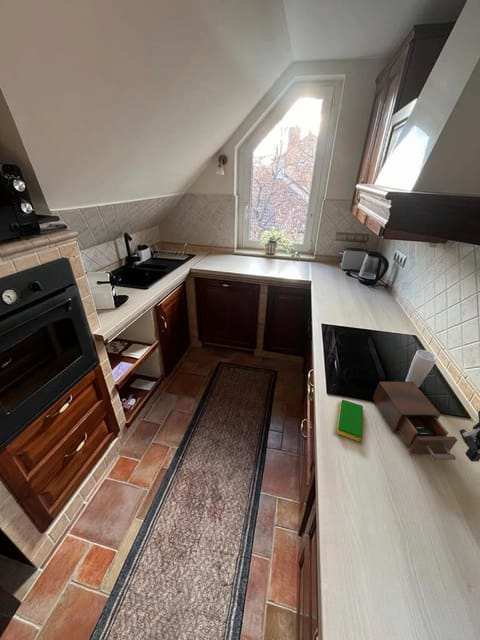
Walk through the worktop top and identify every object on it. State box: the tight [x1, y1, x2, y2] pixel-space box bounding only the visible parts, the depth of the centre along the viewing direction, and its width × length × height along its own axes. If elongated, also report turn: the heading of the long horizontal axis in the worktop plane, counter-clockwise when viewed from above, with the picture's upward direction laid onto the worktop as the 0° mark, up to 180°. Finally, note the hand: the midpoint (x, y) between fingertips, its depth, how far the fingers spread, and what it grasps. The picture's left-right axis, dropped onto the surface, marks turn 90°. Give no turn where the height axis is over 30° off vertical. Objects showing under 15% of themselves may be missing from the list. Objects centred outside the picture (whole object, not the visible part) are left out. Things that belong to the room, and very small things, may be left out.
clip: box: [415, 427, 434, 439], centre depth 79 cm, size 5×3×3 cm, turn 92°
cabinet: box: [372, 381, 442, 433], centre depth 88 cm, size 15×13×9 cm
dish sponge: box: [336, 399, 364, 442], centre depth 87 cm, size 7×14×2 cm, turn 156°
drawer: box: [397, 416, 458, 461], centre depth 79 cm, size 18×11×7 cm, turn 1°
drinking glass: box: [404, 349, 438, 389], centre depth 100 cm, size 7×7×15 cm
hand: (471, 457), depth 63 cm, fingers closed
